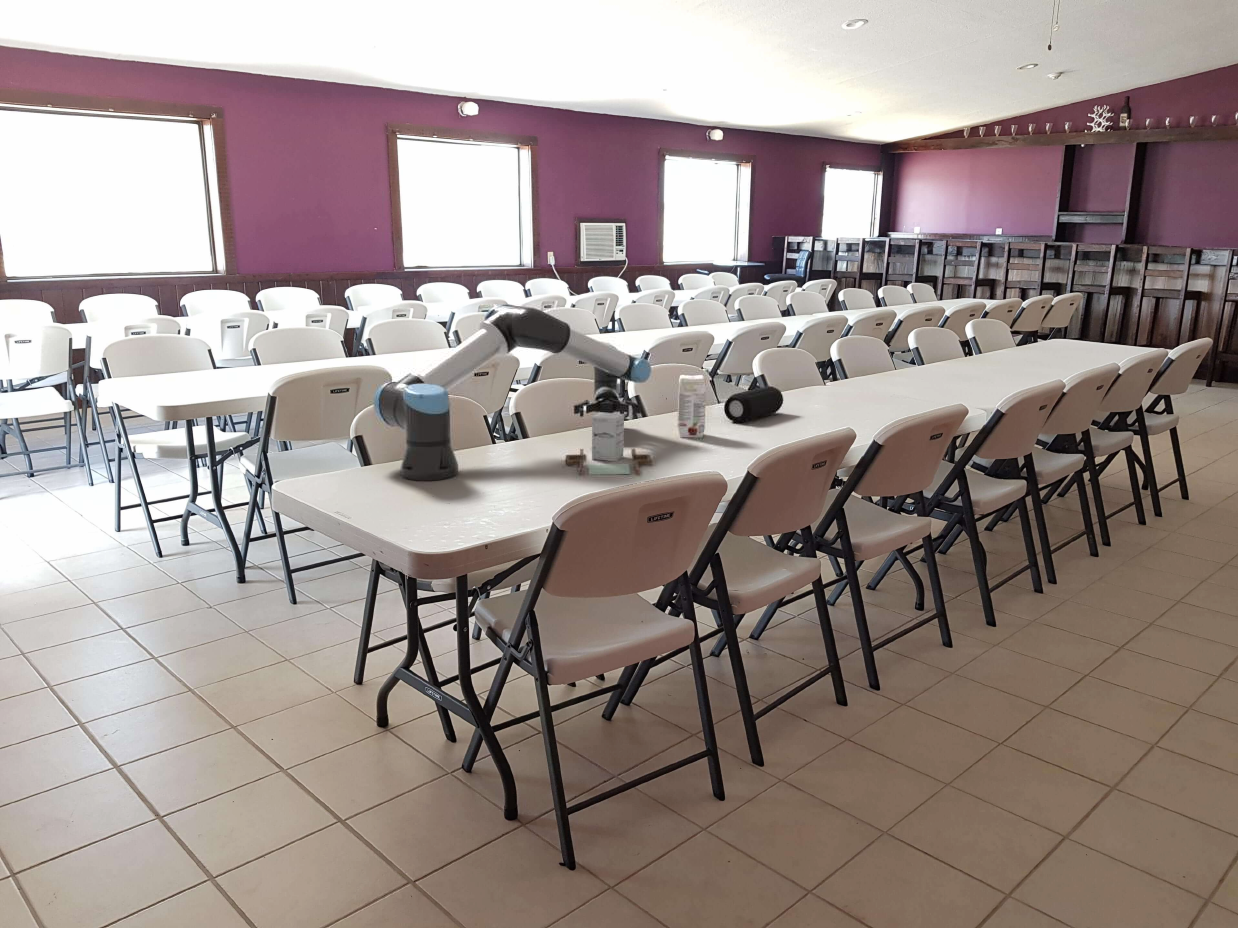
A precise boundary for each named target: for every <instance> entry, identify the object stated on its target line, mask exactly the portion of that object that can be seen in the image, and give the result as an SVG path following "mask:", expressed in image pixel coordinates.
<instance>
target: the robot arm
mask: <svg viewBox="0 0 1238 928" xmlns="http://www.w3.org/2000/svg"><path fill="white" fill-rule="evenodd" d="M516 348H525V349H531V350H541V351H546V352H549V353H551V354H555V355H558V354H560V353H561V354H563V355H566V356H567V357H571V358H573V359H575V360H578V361H580V362H583V363H585V364H588V365H590V366H592V367H593V373H594V375H593V377H594V380H593V398H594V400H593V402H591V401H590V400H588V399H585V400H584V401H583V402H579V403H577V404H574V405H573V414H574V415H578V414H579V417H581V418H583V420H587V414H589V413H593V412H594V413H600V412H604V413H619V412H622V413H626V414H628V415H629V419H630V420H632V419H633V415H636V414H638V415H639V414H641V413H642V405H641V404H639V403H635V402H633V401H630V400H629V399H625V400H623V402H621V400H619V397H618V396H619V395H618V380H623V381H628V382H632V383H634V384H635V383H637V384H638V383H641V384H642V383H645V382H647V381H648V379H649V378H650V376H651V372H652V366H651V364H650V362H649V361H648V360H647V359H644V358H642V357H636V356H633V355H631V354H628V353H626V352H624V351H622V350H619V349H617V347H615V346H610V345H608V344H606V343H603V342H602V341H600V340H599V341H598V340H597V339H595V338H593V337H590V336H588V335H586V334H583V333H582V332H579V331H577V330H574V329H572V328H571V325H569V323H567V322H565V321H563V320H561V319H559V318H557V317H555V316H553V315H551V314H549V313H547V312H546V311H542V310H541V309H538V308H535V307H530V306H529V307H528V306H521V305H520V306H519V305H514V304H510V303H509V304H507V303H506V304H499V305H495V306H494V307H492V308H490V309H489V310H488V311H487V312H486V314H485V316H484V320H482V322H480V324H479V330H478V331H477V332H475V333H473V335H471V336H470V337H469V338H467V339H465V340H464V341H463V342H461V343H460V344H458V345H457V346H456V347H455V348H453V349H451V350H450V351H449V352H448V353H446V354H445V355H443V356H442V357H440V358H439V359H438V360H436V361H435V362H433V363H431V364H430V365H428V367H426V368H425V369H423V370H422V371H421V372H419V373H414V372H409V373H408V374H406V375H405V376H403V378H401V379H400V380H397V382H396V381H389V382H386V383H383V384H382V385H381V386H380V387H379V388H378V389H377V390H376V392H375V394H374V399H373V409H374V412H375V414H376V416H377V418H378V419H379V420H380V421H382V422H383V423H385V424H387V426H390V427H395V428H399V429H401V430H405V444H406V445H405V451H404V455H403V457H402V461H401V465H400V475H401V477H402V478H404V479H407V480H412V481H423V482H424V481H426V482H427V481H440V480H445V479H451V478H453V477H455V476H457V475H458V474H459V473H460V471H459V463H458V461H457V457H456V455H455V452H454V449H453V447H452V443H451V442H452V441H451V439H452V437H451V415H450V414H451V413H450V411H451V410H450V409H451V408H450V407H451V402H450V396H449V393H448V391H450V390H451V389H452V388H454V387H455V386H456V385H458V384H459V383H461V382H462V381H463V380H465V379H466V378H468V377H469V376H471V375H472V374H473V373H475V371H477V370H480V368H481V367H483V366H484V365H486V363H487V364H488V362H489V361H491V360H492V359H493V358H495V357H496V356H500V357H505V356H506V355H508V354H509V353H510V352H512V351H514V350H515V349H516Z"/></svg>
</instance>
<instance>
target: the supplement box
mask: <svg viewBox="0 0 1238 928" xmlns="http://www.w3.org/2000/svg"><path fill="white" fill-rule="evenodd" d="M591 419H592V423H591V425H592V426H591V427H592V428H591V429H592V430H591V431H592V432H591V460H598V461H609V462H614V461H615V462H617V461H619V460H620V459H621V458H623V457H624V444H625V442H624V436H625V433H624V432H625V430H624V428H625V414H623V413H616V412H614V413H604V412H597V414H595V415H593V416H592V418H591ZM619 458H620V459H619Z"/></svg>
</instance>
